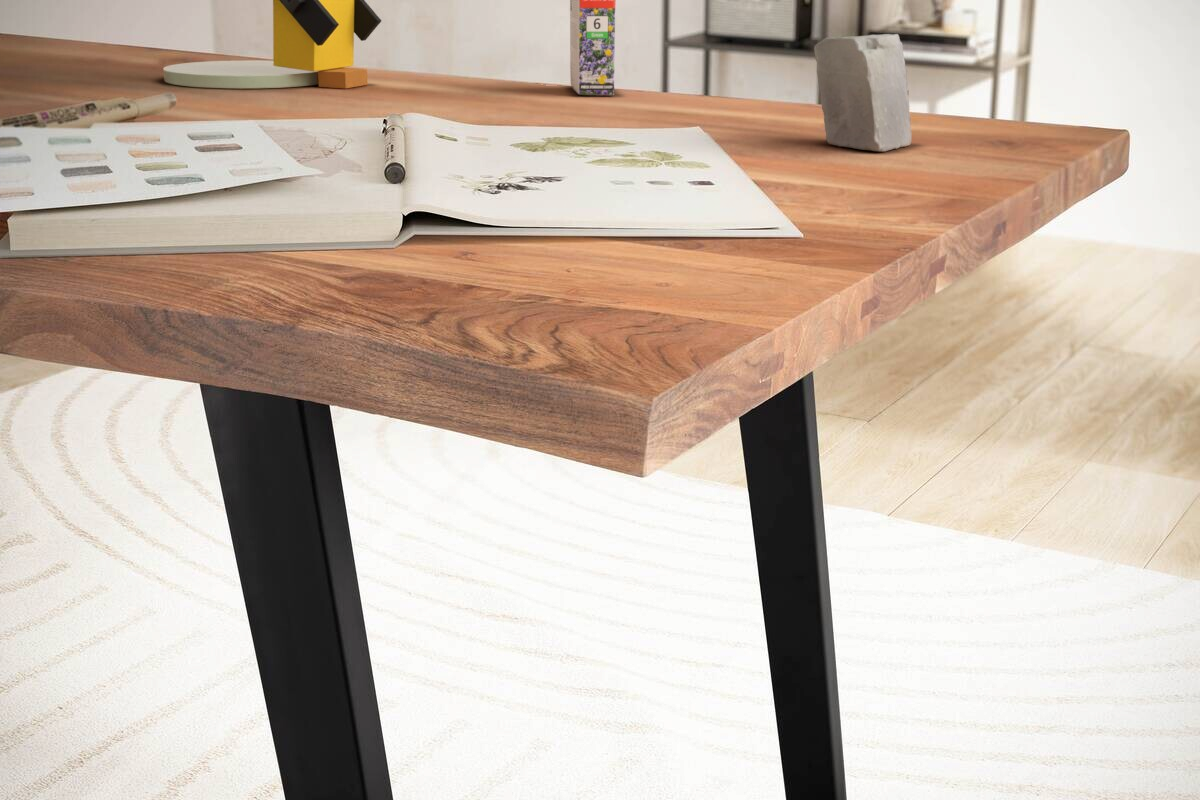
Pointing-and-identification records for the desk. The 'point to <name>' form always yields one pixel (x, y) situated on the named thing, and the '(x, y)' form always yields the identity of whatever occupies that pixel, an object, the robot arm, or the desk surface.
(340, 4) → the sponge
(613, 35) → the ink box
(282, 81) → the plate
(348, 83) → the orange brown block
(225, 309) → the desk surface
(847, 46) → the mineral specimen
